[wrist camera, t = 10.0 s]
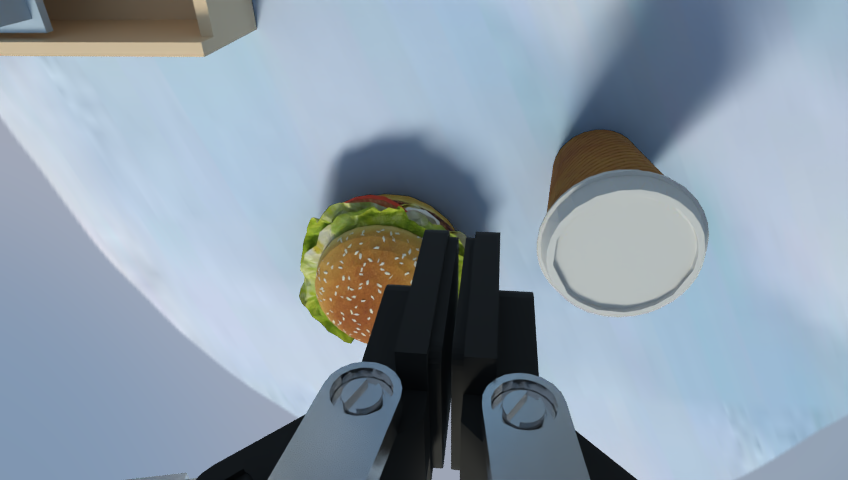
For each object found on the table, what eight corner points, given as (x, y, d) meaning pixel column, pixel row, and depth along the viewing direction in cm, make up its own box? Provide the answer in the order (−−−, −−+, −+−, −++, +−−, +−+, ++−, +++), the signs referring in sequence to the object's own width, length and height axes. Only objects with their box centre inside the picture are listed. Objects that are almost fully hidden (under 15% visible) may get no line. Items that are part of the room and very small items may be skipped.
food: (356, 143, 43) (327, 189, 36) (505, 235, 45) (504, 294, 39) (285, 262, 50) (250, 319, 43) (418, 336, 52) (405, 401, 46)
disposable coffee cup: (538, 103, 39) (548, 175, 29) (678, 110, 38) (738, 187, 28) (524, 220, 44) (529, 316, 34) (647, 229, 43) (690, 330, 33)
